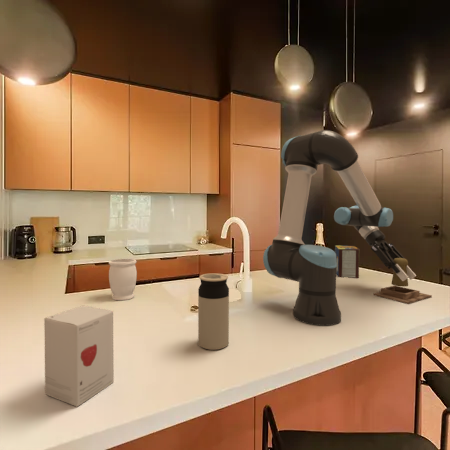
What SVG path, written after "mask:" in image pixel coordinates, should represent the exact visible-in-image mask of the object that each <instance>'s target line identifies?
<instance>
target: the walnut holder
mask: <svg viewBox="0 0 450 450" xmlns="http://www.w3.org/2000/svg"><path fill="white" fill-rule="evenodd" d="M373 296H374V297H375V296H376V297H378V298H382V299H387V300H391V301H394V302H398V303H402V304H406V305H410V304H414V303H417V302H420V301H421V302H422V301H425V300H427V299H431V298H432V297H433V295H432V294H427V293H422V292H421V291H420V290H417V289H412V288H408V287H403V286H395V285H390V286H386V287H382V288H380V291H377V292H374V293H373Z"/></svg>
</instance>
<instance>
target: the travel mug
mask: <svg viewBox="0 0 450 450" xmlns="http://www.w3.org/2000/svg"><path fill="white" fill-rule="evenodd" d="M199 279H200V285H199V287H198V290H197V291H198V292H197V293H198V298H197V299H198V302H197V303H198V304H197V305H198V307H197V308H198V311H197V312H198V315H197V317H198V320H197V321H198V324H197V326H198V330H197V331H198V336H197V337H198V339H197V341H198V343H197V344H198V346H199V347H201V348H203V349H205V350H209V351H218V350H220V349H224V348H225V347H227V346H229V343H230V342H229V341H230V340H229V338H230V337H229V334H230V333H229V332H230V331H229V329H230V327H229V326H230V325H229V323H230V311H229V310H230V303H229V302H230V288H229V286H228V285H227V281H228V279H229V276H228V275H227V274H225V273H224V274H223V273H215V272H214V273H204V274H201V275H199Z"/></svg>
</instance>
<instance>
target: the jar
mask: <svg viewBox="0 0 450 450" xmlns="http://www.w3.org/2000/svg"><path fill="white" fill-rule="evenodd" d="M136 264H137V260H136V259H134V258H120V259H119V258H118V259H112V260H108V265H109V269H108V280H109V281H108V282H109V288H110V291H111V293H112V296H111V298H112V299H111V300H114V301H127V300H132V299H133V298H135V294H134V291H135V289H136V283H137V276H138V275H137V274H138V272H137V265H136Z"/></svg>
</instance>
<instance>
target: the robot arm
mask: <svg viewBox="0 0 450 450" xmlns="http://www.w3.org/2000/svg"><path fill="white" fill-rule="evenodd" d="M280 155H281V157H280V158H281V159H282V164H283V165H284V166H285V168H284V169H285V171H286V172H287V173H288V175H287V179H286V180H287V181H286V187H285V191H284V192H285V193H284V198H283V204H282V210H281V216H280V222H279V226H278V227H279V228H278V231H277V232H278V233H277V235H276V236H274V238H272V243H271V244H270V245H268V246H267V247H266V249H265V250H264V252H263V257H262V259H263V260H262V261H263V265H264V269H265V270H266V271H267V273H268V274H270V275H271V276H274V277H277V278H278V279H284V280H289V281H294V282H297V283H298V294H297V298H296V300H295V304H294V306H293V309H292V312H293V313H292V315H293V318H295V319H296V320H298V321H300V322H302V323H305V324H309V325H314V326H331V325H332V326H333V325H336V324H339V323H340V322H341V321H342V313H341V309H340V307H339V303H338V299H337V296H336V295H337V274H336V267H337V261H336V253H335V250H333V249H332V248H329V247H326V246H321V245H315V244H305V243H304V241H303V240H302V237H303V231H304V225H305V218H306V212H307V208H308V207H307V206H308V201H309V194H310V187H311V182H312V176H314V175H316V174H317V171H318V166H320V165H328V166H329V167H330V168H331V169H332V171H334V172H337V174H338V176H339V177H340V179H341V180H342V182H343V184H344V186H345V187H346V189H347V191H348V192H349V195H350V196H351V197H352V198H353V201H354V202H355V204H356V205H353V206H351V207H346V206H344V207H343V206H341V207H338V208H337V209H336V210H335V211H334V215H333V219H334V222H335V223H337V224H339V225H341V226H350V227H354V229H355V230H356V231H357V232H358V233H359V234H360V236H361V237H362V238H363V239H364V240H365V242H366V243H367V244H368V246H369V247H370V250H371V251H372V252H374V254H375V255H376V256H377V257H378V258H379V260H380V261H381V262H382V263H383V265H384V266H385V267H386V268H387V269H389V270H390V269H392V270H393V272H395V273H396V274H397V275H398V277H399V278H400V279H401V280H402V281H405V280H406V279H407V278H408V279H409V280H412V279H414V278H415V277H416V276H417V275H416V273H415V272H414V271H413V270H412V268H410V266H409V264H408V265H407V266H406V269H407V275H406V274H405V272H404V271H403V270H402V269H401V268H400V267H399V265H398V264H396V265H395V262H394V261H393V260H394V259H395V258H404V259H406V258H405V256H404V255H403V254H402V253H401V252H400V250H398V249H397V248H396V247H395V245H394V244H393V242H391V243H389V242H387V241H386V240H385V239H386V235H385V233H383V232H382V231H381V230H380V227H390V226H391V225H392V222H393V221H394V212H393V210H392V209H391V208H389V207H383V206H382V205H381V202H380V201H379V199H378V197H377V195H376V193H375V191H374V190H373V187H372V186H371V184H370V182H369V180H368V178H367V176H366V175H365V173H364V171H363V169H362V167H361V164H360V163H359V161H358V159H359V153H358V152H357V150H356V149H355V147H354V146H353V145H352V143H350V141H349V140H347V138H346V137H344V136H342V135H341V134H339V133H338V132H336V131H332V130H329V129H323V130H318V131H315V132H311V133H308V134H307V133H306V134H302V135H297V136H296V135H295V136H294V137H292V138H289V139H288V140H286V141H285V142H284V144H283V146H282V149H281V154H280Z"/></svg>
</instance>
